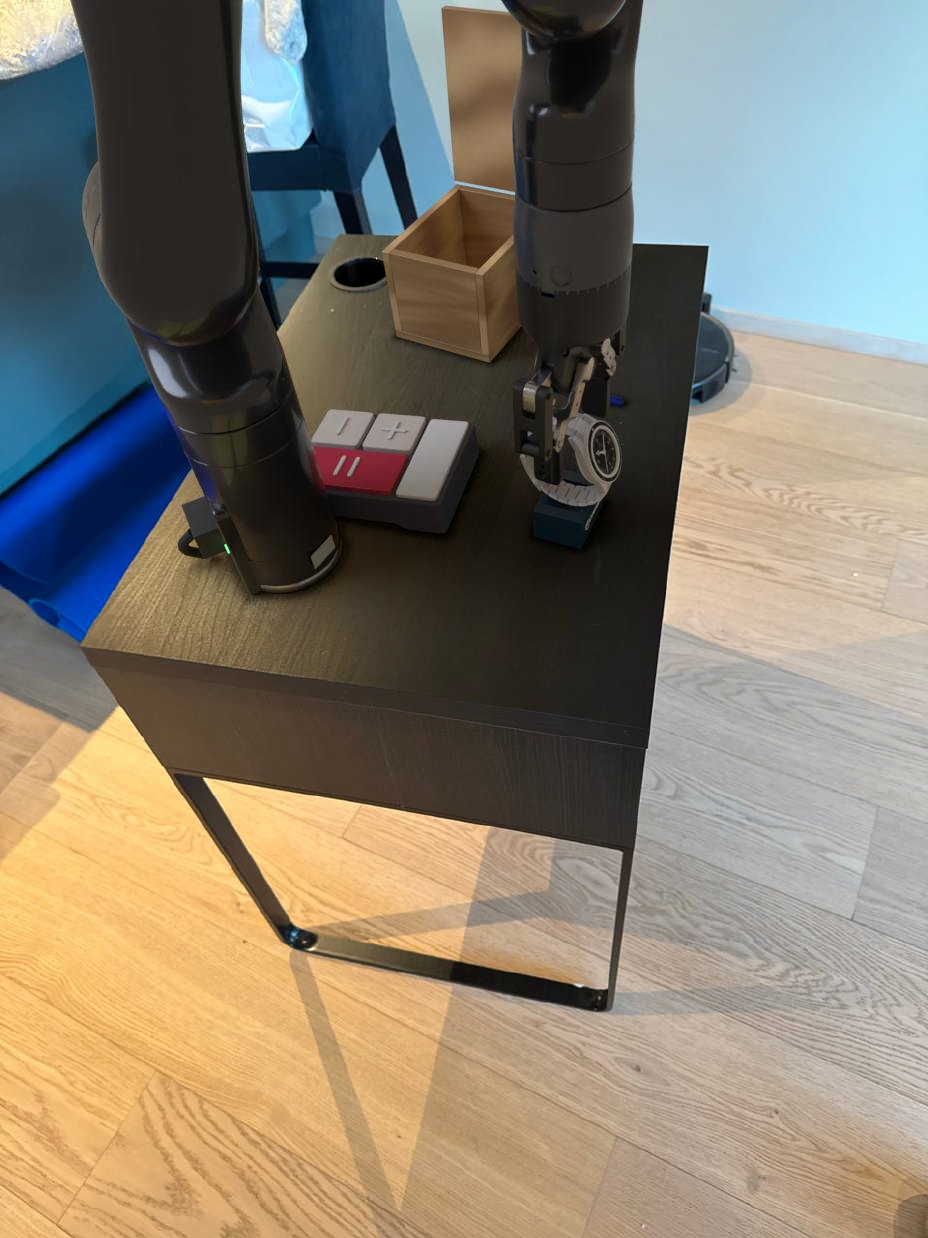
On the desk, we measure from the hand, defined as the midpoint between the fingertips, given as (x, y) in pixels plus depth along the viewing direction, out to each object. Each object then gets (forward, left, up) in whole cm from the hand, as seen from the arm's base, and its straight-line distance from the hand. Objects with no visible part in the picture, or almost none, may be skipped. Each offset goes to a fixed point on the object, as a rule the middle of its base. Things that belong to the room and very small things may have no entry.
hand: (572, 445), depth 67 cm
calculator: (-12, +13, -8) cm, 20 cm away
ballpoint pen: (+9, +15, -9) cm, 19 cm away
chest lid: (+13, +37, +10) cm, 40 cm away
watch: (0, 0, -8) cm, 8 cm away
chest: (+7, +33, -8) cm, 34 cm away
